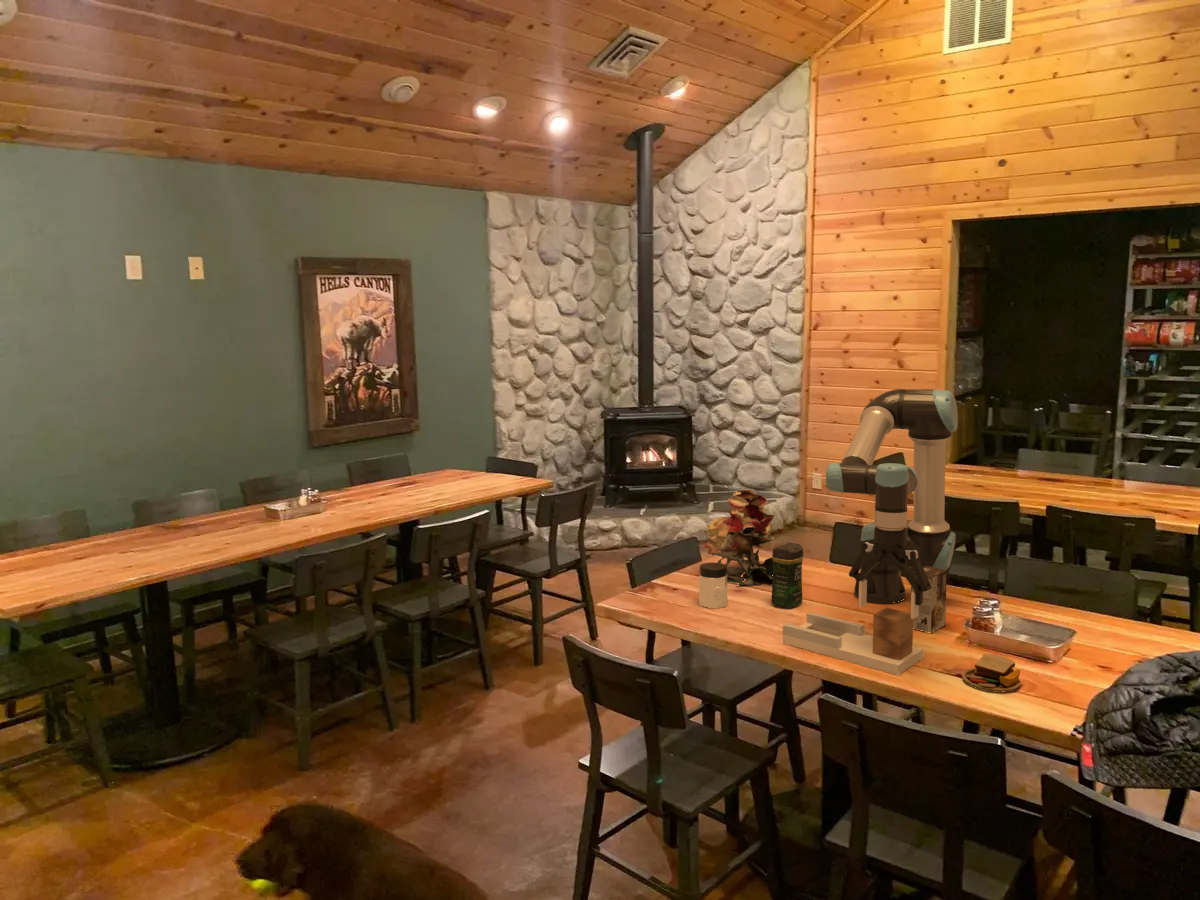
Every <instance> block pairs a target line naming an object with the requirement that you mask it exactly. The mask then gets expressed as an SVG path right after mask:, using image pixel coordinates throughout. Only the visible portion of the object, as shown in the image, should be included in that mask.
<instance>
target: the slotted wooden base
mask: <svg viewBox="0 0 1200 900" xmlns="http://www.w3.org/2000/svg"><path fill="white" fill-rule="evenodd" d="M783 643H786V644H785V645H787V644H790V645H789V646H791V645H793V646H792V647H794V646H796V647H795V648H798V647H800V648H799V649H801V648H803V649H802V650H805V649H806V650H805V651H809V650H810V651H809V652H812V651H813V653H817V654H819V653H821V654H820V655H824V656H827V657H831V658H834V659H838V660H841V661H844V662H845V661H846V662H849V663H853V664H856V665H859V666H864V667H867V668H870V669H874V670H878V671H881V672H886V673H888V672H889V673H888V674H892V675H895V674H896V676H899V675H901V674H902V673H904V672H905V671H907V670H908V669H910V668H911V667H913V666H914V665H916V664H917V663H919V662H920V661H921V660H920V659H922V658H923V659H924V654H925V653H924V651H925V650H924V648H922V647H918V646H913V645H912V653H911V654H909V655H907V656H906V657H904V658H903V659H901V660H900V661H899V660H895V659H892V658H888V657H884V656H880V655H877V654H873V635H869V634H865V624H863V623H862V624H861V623H857V622H853V621H849V620H845V619H841V618H837V617H832V616H830V615H825V614H820V613H815V612H808V613H806V622H805V623H803V624H801V625H795V624H791V623H784V624H783V625H782V644H783ZM923 659H922V660H923ZM919 660H920V661H919ZM918 661H919V662H918ZM916 662H917V663H916ZM915 663H916V664H915ZM913 664H914V665H913ZM912 665H913V666H912ZM910 666H911V667H910ZM909 667H910V668H909ZM907 668H908V669H907ZM906 669H907V670H906ZM904 670H905V671H904ZM903 671H904V672H903ZM901 672H902V673H901ZM900 673H901V674H900ZM898 674H899V675H898Z"/></svg>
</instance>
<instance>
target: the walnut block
mask: <svg viewBox="0 0 1200 900" xmlns="http://www.w3.org/2000/svg"><path fill="white" fill-rule="evenodd" d="M872 636H873V654H877V655H880V656H884V657H888V658H892V659H895V660H899V661H900V660H901V659H903V658H904V657H906V656H907V655H909V654H911V653H912V646H913V644H914V643H913V641H914V630H913V619H912V618H911V613H910V612H907V611H904V610H903V611H902V610H900V609H899V610H898V609H893V608H890V607H885V608H882V610H880V611H878V612H876V613H874V614H873V617H872Z"/></svg>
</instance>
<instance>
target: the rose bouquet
mask: <svg viewBox="0 0 1200 900" xmlns="http://www.w3.org/2000/svg"><path fill="white" fill-rule="evenodd" d="M732 496H733V497H729V498H728V499H727V502H728V504H729V505H730V506H731V509H728V512H729V515H730V516H721V517H720V516H719V517H715V518H714V519H713V520H712V521H710V523H709V524H707V525H706V530H707V531H706V534H708V535H707V536H706V538H707V539H710V540H709V541H708V542H707V543H706V544H704V548H706V549H708V550H707V552H706V553H707V554H708V555H711V556H718V557H721V559H719V560H718V562H716V563H721V564H722V561H723V560H724V559H726V563H725V565H726V566H727V583H728V582H732V583H739V584H737V585H739V587H738V588H740V587H741V586H744V585H747V586H748V585H749V586H761V583H759V582H756V581H754V579H753V577H754V576H755V575H759V577H762V578H767V579H770V580H772V581H773V576H772V575H773V559H772V556H771V557H769V558H767V559H764V562H762V563H761V562H759V561H760V557H759V553H760V549H761V548H762V549H763V548H764V547H763V546H761V545H764V544H766V543H770V542H771V541H775V540H777V539H775V538H774V537H773V536H772V535H771V530H772V527H773V525H772V523H771V522H772V521H773V520H774V518H775V515H774V514H767V513H766V512H767V509H766V508H764V507H765V506H766V505H767V504H769V503H768V500H767V497H765V496H763V495H761V494H759V493H757V492H755V490H753V489H748V488H744V489H743V488H742V489H741V490H735V492H734V493H733V494H732ZM776 531H783V529H782V528H777V529H776ZM753 547H757V548H758V549H757V550H756V552H754V548H753ZM732 561H734V562H737V563H738V565H739V566H740V567H739V566H733V567H732V566H729V565H730V563H731V562H732ZM744 572H745V574H744V575H745V578H743V577H741V575H742V574H743V573H744ZM747 578H748V579H747ZM744 579H746V580H745V582H742V581H744ZM758 584H759V585H758ZM770 586H772V584H770Z"/></svg>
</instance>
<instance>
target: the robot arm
mask: <svg viewBox="0 0 1200 900" xmlns="http://www.w3.org/2000/svg"><path fill="white" fill-rule="evenodd" d="M956 401H957V399H956V398H955V395H954V393H953V392H952V391H950V390H945V389H944V390H943V389H937V388H935V389H934V388H933V389H932V388H931V389H927V388H926V389H925V388H923V389H922V388H921V389H919V388H917V389H916V388H915V389H914V388H913V389H910V388H909V389H904V388H895V389H892V390H888V391H885V392H883V393H881V394H879V395H878V396H876V397H875V398H874V399H871V401H870V402H868V404H867V405H866V406H865V407H864V408H863V410H862V412H861V414H860V417H859V423H860V424H859V426H858V428H857V429H856V431H855V433H854V435H853V438H852V439H851V442H850V444H849V446H848V448H847V450H846V452H845V455H844V456H843V458H842V461H841V462H832V463H829V464H828V466H827V468H826V471H825V485H826V488H827V489H828V491H831V492H836V493H841V494H844V493H845V494H861V495H872V496H874V497H875V498H874V505H875V506H874V520H873V521H874V522H869V523H867V524H866V523H865V525H863V526H862V528H861V537H860V552H859V554H858V556H857V558H856V559H855V561H854V563H853V564H852V567H851V568H850V570H849V572H848V576H849V577H851V578H853V579H855V585H854V589H853V591H854V592H853V596H854V595H855V596H856V597H857V599H858V598H859V599H858V608H863V607H866V606H867V603H872V602H877V603H876V604H880V603H892V604H894V603H893V602H898V601H901V600H903V599H905V597H907V594H906V593H907V591H906V588H905V584H904V581H903V578H902V575H903V577H904V578H905V579H906V581H907V582H908V583H909V584H910V587H911V586H912V588H913V589H914V590H915V591H913V592H911V591H910V607H911V618H912V619H914V618H916V617H918V616H919V605H921V604H922V602H923V591H928V590H929V589H931V585H930V582H929V580H928V578H927V575H926V573H925V571H924V568H923V567H924V566H930V567H935V568H939V569H944V570H948V568H949V567H950V565H951V561H952V559H953V555H954V550H955V545H956V539H957V538H956V533H955V532H953V531H951V527H950V526H951V525H950V524H949V523H948V522H947V521H946V520H945V503H946V502H945V501H946V500H945V497H946V496H945V495H946V494H945V493H946V448H947V447H946V443H947V442H948V441H949V440H950V439H951V438H952V433H954V432H956V431H957V430H958V426H959V425H958V424H959V420H958V419H959V415H958V414H959V413H958V405H957V402H956ZM892 430H907V431H908V433H907V435H908V438H909V439H911V441H913V468H912V467H911V466H909V465H905V464H904V463H896V462H895V463H894V462H893V463H891V462H890V463H889V462H887V463H886V462H885V463H881V464H880V463H879V464H878V465H874V464H873V463H874V461H875V459H876V458H877V455H878V453H879V451H880V448H881V447H882V444H883V442H884V439H885V437H886V435H887V434H889V433H890V432H891V431H892ZM912 493H913V509H912V510H913V515H912V516H913V519H911V521H910V522H908V497H909V495H911V494H912ZM911 568H912V569H913V570H912V569H911ZM914 571H915V574H916V576H917V577H916V576H915V574H914V573H913V572H914ZM901 574H902V575H901ZM855 596H854V597H855ZM856 597H855V598H856ZM905 600H906V599H905ZM867 601H868V602H867Z"/></svg>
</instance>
